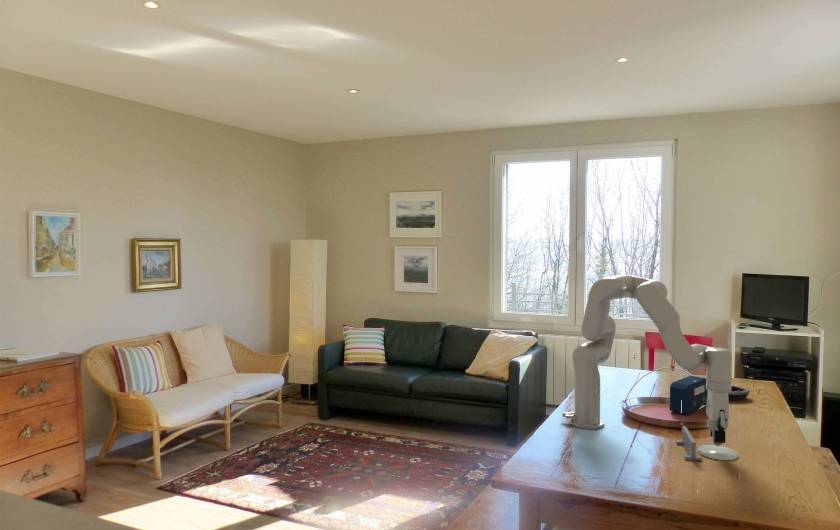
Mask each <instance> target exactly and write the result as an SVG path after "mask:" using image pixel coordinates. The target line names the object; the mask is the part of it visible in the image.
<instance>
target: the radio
mask: <svg viewBox="0 0 840 530" xmlns="http://www.w3.org/2000/svg"><path fill="white" fill-rule="evenodd" d="M707 392H708V390H707V389H706V377H701V376H697V375H688V376H686V377H685V376H684V377H683V378H680V379H678V380H675V381H672V382H671V384H670V386H669V411H671V412H673V413H677V414H680V412H681V400H682V413H683V414H682V415H686V416H690V415H691V414H694V413H697V412H698V411H699V410H698V409H699V408H700V407H701V406H702V405H706V404H707ZM697 410H698V411H697ZM689 414H690V415H689Z"/></svg>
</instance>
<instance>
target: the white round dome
mask: <svg viewBox="0 0 840 530" xmlns="http://www.w3.org/2000/svg"><path fill="white" fill-rule="evenodd" d="M698 452H699V453H700V454H699V453H698ZM697 453H698V454H699V455H700V456H702V455H703V456H702V457H704V456H705V458H707V457H708V458H707V459H711V458H712V459H711V460H715V459H718V460H717V461H723V460H730V461H735V460H737V459H738V458H739V453H738V452H737V451H736V450H734V449H733V448H730V447H727V446H724V445H720V446H716V445H715V444H703V445H700V446H698V447H697ZM736 458H737V459H736ZM734 459H735V460H734Z"/></svg>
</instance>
